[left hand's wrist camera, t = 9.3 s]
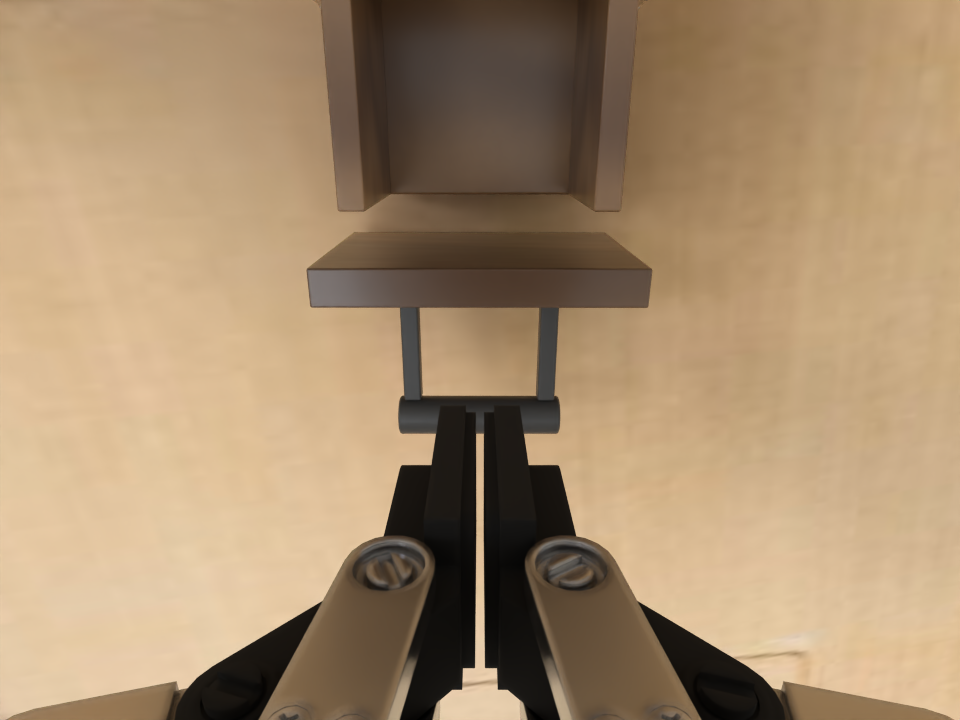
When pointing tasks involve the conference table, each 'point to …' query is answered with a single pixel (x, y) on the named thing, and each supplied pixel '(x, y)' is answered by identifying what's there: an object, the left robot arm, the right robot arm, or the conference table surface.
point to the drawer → (479, 166)
